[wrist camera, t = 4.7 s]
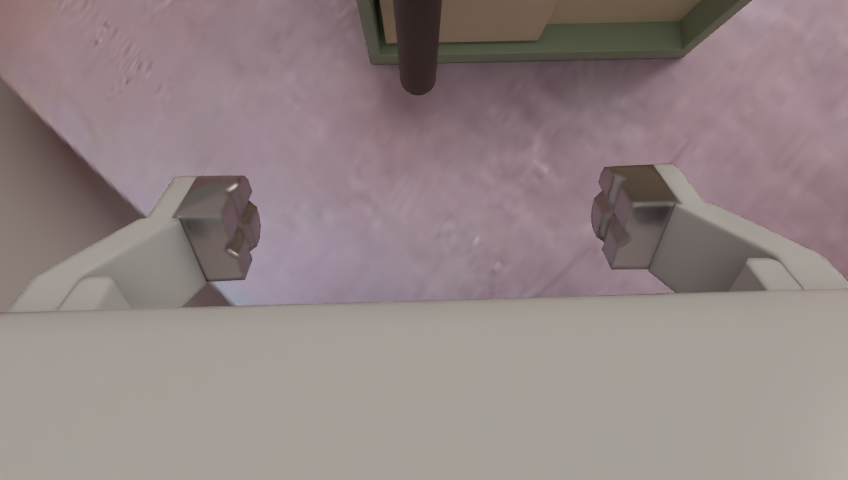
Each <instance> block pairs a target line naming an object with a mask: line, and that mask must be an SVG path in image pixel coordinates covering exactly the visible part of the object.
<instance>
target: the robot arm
mask: <svg viewBox="0 0 848 480" xmlns="http://www.w3.org/2000/svg"><path fill="white" fill-rule="evenodd" d="M598 183H599V185H600V186H601V188H602V190H603V191H602V192H600V193H599V194H598V195H597V196H596V197H595V198H594V201H593V206H592V210H591V222H592V227H593V230H594V233H595V235H596V237H597V238H599V239H600V240H602V241H603V242H604V245H603V248H602V251H603V253H604V255H605V257H606V259H607V261H608V263H609V265H610V268H611V269H649V270H648V271H649V272H650V273H652V274H653V275H654V276H655V277H657V278H658V279H659V280H660V281H662V282H663V283H664V284H665V285H667V286H668V287H669V288H670V289H672V290H673V291H674V292H675V293H667V294H632V295H598V296H564V297H529V298H495V299H460V300H425V301H390V302H356V303H321V304H286V305H251V306H220V307H219V306H216V307H182V306H183V305H184V304H185V303H187V302H188V301H189V300H190V299H191V298H192V297H193V296H194V295H195V294H196V293H197V292H199V291H200V290H201V289H202V288H203V287H204V286H205V285H206V284H207V282H212V281H231V280H245V278H246V275H247V272H248V270H249V267H250V264H251V261H252V257H251V254H250V251H251V250H252V249H254V248H255V247H256V246H257V244H258V241H259V238H260V228H261V225H260V217H259V213H258V210H257V207H256V206H255V205H254V204H252V203H251V202H250V201H249V198H250V195H251V193H252V190H251V187H250V184H249V181H248V179H247V178H246V177H245V176H179V177H175V178H173V180H172V181H171V183H170V184H169V186H168V187H167V189H166V190H165V192H164V193H163V195H162V196H161V198H160V199H159V201H158V202H157V204H156V205H155V207H154V208H153V210H152V211H151V213H150V214H149V216H148V217H147V219H138V220H137V221H135V222H133V223H131V224H129V225H127V226H126V227H124V228H122V229H120V230H118V231H117V232H115V233H113V234H111V235H109V236H108V237H106V238H104V239H102V240H100V241H98V242H96V243H95V244H93V245H91V246H89V247H87V248H86V249H84V250H82V251H80V252H78V253H76V254H75V255H73V256H71V257H69V258H67V259H66V260H64V261H62V262H60V263H58V264H56V265H55V266H53V267H51V268H49V269H47V270H45V271H44V272H42V273H40V274H38V275H36V276H35V277H33V279H32V280H31V281H30V282H29V283H28V285H27V286H26V287H25V288H24V289H23V291H22V292H21V293H20V294H19V296H18V297H17V298H16V299H15V300H14V302H13V303H12V304H11V305H10V306H9V308H8V309H7V310H6V311H5V312H4V313H0V480H848V281H847V280H846V279H845V278H844V277H843V276H842V275H841V274H840V273H839V272H838V271H837V269H836V268H835V267H834V266H833V265H832V264H831V263H830V262H829V261H828V260H827V259H826V258H825V257H824V256H823V255H821V254H819V253H817V252H815V251H813V250H811V249H809V248H807V247H804V246H802V245H800V244H798V243H796V242H794V241H792V240H790V239H787V238H785V237H783V236H781V235H779V234H777V233H775V232H773V231H770V230H768V229H766V228H764V227H762V226H760V225H758V224H756V223H754V222H751V221H749V220H747V219H745V218H743V217H741V216H739V215H737V214H734V213H732V212H730V211H728V210H726V209H724V208H722V207H720V206H718V205H715V204H706V203H705V201H704V200H703V199H702V198H701V196H700V195H699V194H698V192H697V191H696V190H695V189H694V187H693V186H692V185H691V184H690V182H689V181H688V180H687V179H686V177H685V176H684V175H683V174H682V172H681V171H680V170H679V169H678V167H677V166H676V165H674V164H671V163H666V164H650V165H634V166H614V167H604V169H603V171H602V172H601V175H600V179H599V182H598Z"/></svg>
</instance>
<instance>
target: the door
mask: <svg viewBox="0 0 848 480" xmlns="http://www.w3.org/2000/svg"><path fill="white" fill-rule="evenodd" d="M557 2H558V0H380V7H381V14H382V21H383V28H384V35H385V42H386V43H387V44H389V43H397V48H398V58H399V69H400V79H401V84H402V86H403V88H404V89H405V90H406V91H407V92H409V93H410V94H413V95H423V94H426V93H428V92H429V91H430V90H431V89H432V88H433V86H434V84H435V80H436V69H437V56H438V44H439V42H485V41H533V40H539V38H540V36H541V34H542V32H543V30H544V28H545V26H546V24H547V22H548V20H549V18H550V16H551V14H552V12H553V10H554V8H555V6H556V4H557Z"/></svg>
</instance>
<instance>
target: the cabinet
mask: <svg viewBox="0 0 848 480" xmlns="http://www.w3.org/2000/svg"><path fill="white" fill-rule="evenodd" d="M356 1H357V5H358V9H359V14H360V18H361V22H362V27H363V31H364V36H365V40H366V44H367V49H368V53H369V57H370V62H371V64H399V58H398V48H397V43H389V44H387V43H386V42H385V35H384V28H383V21H382V14H381V7H380V0H356ZM750 1H752V0H558V2H557V4H556V6H555V8H554V10H553V12H552V14H551V16H550V18H549V20H548V22H547V24H546V26H545V28H544V30H543V32H542V34H541V36H540V38H539V40H533V41H485V42H439V44H438V56H437V63H453V62H500V61H547V60H594V59H640V58H682V57H684V56H685V55H686V54H687V53H689V52H690V51H691V50H692V49H694V48H695V47H696V46H697V45H698V44H700V43H701V42H702V41H703V40H704V39H706V38H707V37H708V36H709V35H710V34H712V33H713V32H714V31H715V30H717V29H718V28H719V27H720V26H721V25H723V24H724V23H725V22H726V21H727V20H729V19H730V18H731V17H732V16H734V15H735V14H736V13H737V12H738V11H740V10H741V9H742V8H743V7H744V6H746V5H747V4H748V3H749V2H750Z"/></svg>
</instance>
